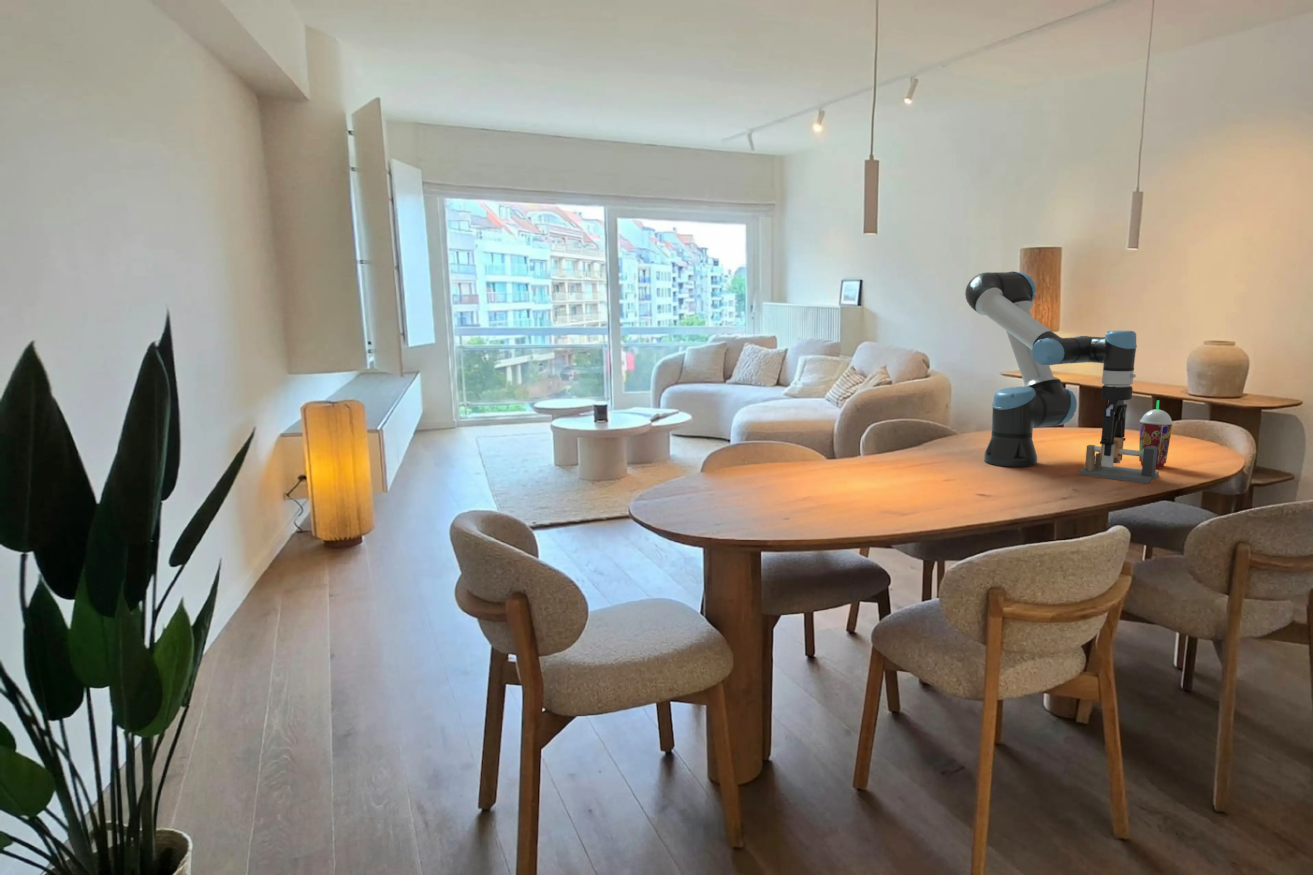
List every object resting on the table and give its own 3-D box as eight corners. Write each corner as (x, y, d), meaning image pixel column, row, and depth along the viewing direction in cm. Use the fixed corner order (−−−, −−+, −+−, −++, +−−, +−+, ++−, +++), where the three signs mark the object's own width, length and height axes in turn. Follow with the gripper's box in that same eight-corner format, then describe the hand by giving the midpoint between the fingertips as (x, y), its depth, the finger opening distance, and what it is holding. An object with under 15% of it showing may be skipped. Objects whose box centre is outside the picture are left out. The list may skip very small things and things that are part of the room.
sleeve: (1100, 461, 217) (1101, 439, 216) (1106, 458, 221) (1108, 436, 220) (1115, 463, 214) (1117, 441, 213) (1121, 459, 218) (1123, 437, 217)
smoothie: (1175, 468, 223) (1181, 401, 219) (1146, 469, 223) (1152, 402, 219) (1157, 462, 231) (1163, 398, 227) (1129, 463, 231) (1135, 399, 227)
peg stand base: (1079, 474, 219) (1081, 444, 217) (1092, 467, 227) (1094, 438, 225) (1147, 483, 206) (1150, 451, 205) (1158, 475, 215) (1161, 444, 213)
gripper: (1122, 389, 204) (1115, 472, 208) (1141, 382, 217) (1135, 460, 221) (1091, 387, 210) (1085, 468, 214) (1112, 381, 223) (1106, 457, 227)
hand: (1110, 464), depth 218 cm, fingers closed on sleeve, 6 cm apart
